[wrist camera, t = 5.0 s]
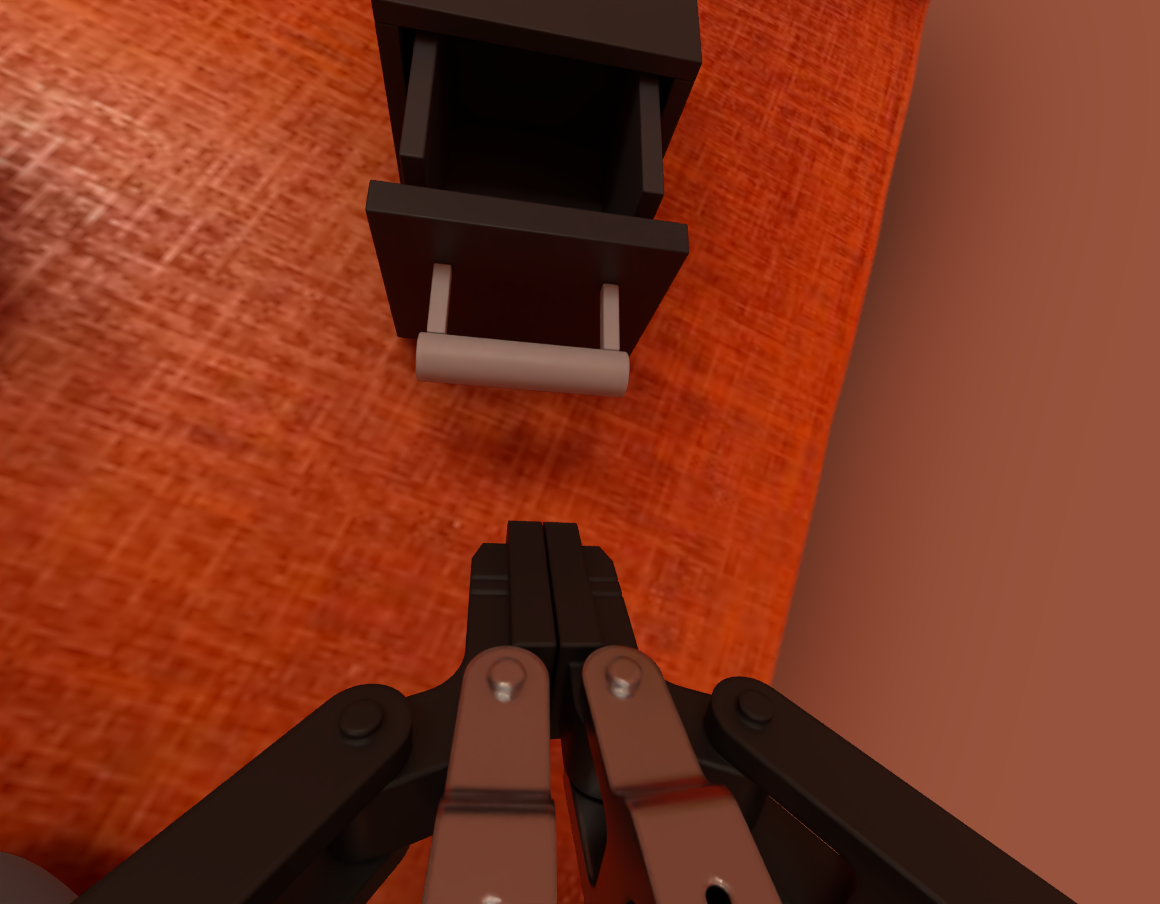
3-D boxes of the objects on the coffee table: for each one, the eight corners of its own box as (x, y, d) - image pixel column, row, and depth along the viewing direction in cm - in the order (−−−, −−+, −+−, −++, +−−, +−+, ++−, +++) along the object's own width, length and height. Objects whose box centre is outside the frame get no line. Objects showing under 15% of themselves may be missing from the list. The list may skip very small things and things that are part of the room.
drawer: (630, 446, 24) (697, 368, 17) (385, 430, 23) (345, 335, 15) (623, 150, 30) (673, -6, 22) (424, 118, 28) (407, -64, 21)
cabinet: (631, 237, 29) (703, 62, 20) (403, 206, 27) (370, -3, 18) (626, 50, 33) (683, -164, 24) (429, 12, 31) (411, -237, 22)
